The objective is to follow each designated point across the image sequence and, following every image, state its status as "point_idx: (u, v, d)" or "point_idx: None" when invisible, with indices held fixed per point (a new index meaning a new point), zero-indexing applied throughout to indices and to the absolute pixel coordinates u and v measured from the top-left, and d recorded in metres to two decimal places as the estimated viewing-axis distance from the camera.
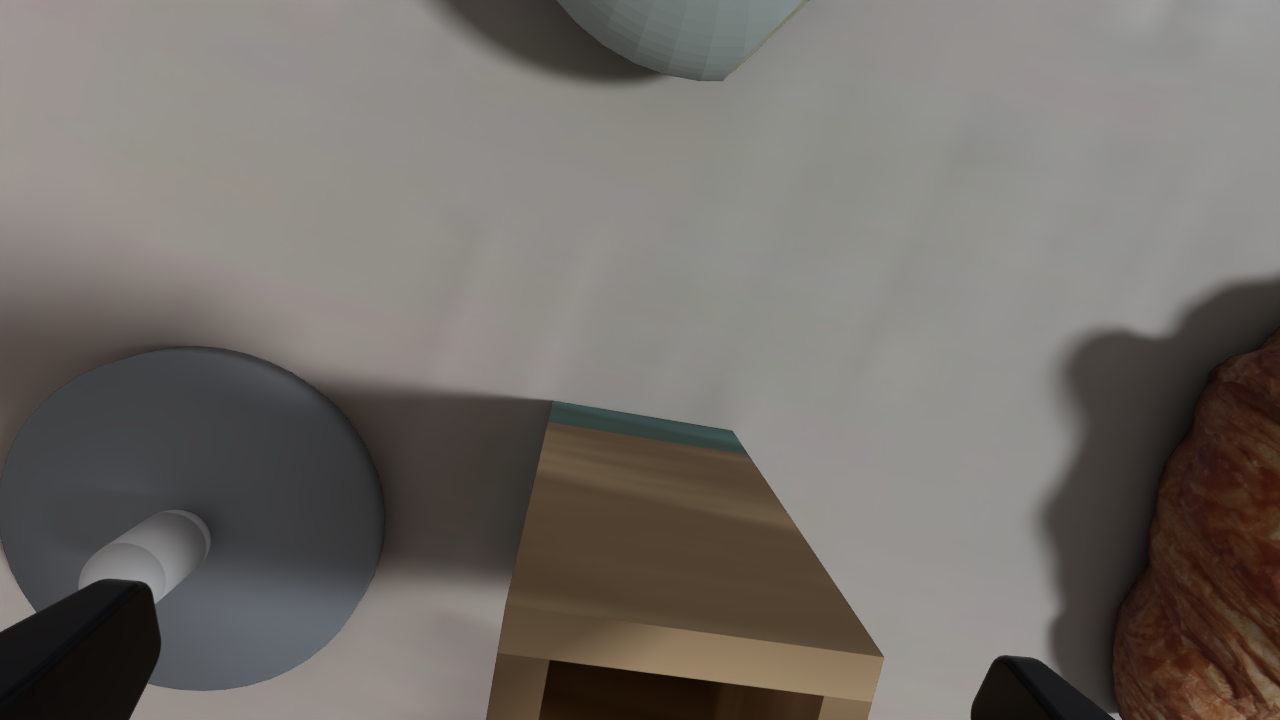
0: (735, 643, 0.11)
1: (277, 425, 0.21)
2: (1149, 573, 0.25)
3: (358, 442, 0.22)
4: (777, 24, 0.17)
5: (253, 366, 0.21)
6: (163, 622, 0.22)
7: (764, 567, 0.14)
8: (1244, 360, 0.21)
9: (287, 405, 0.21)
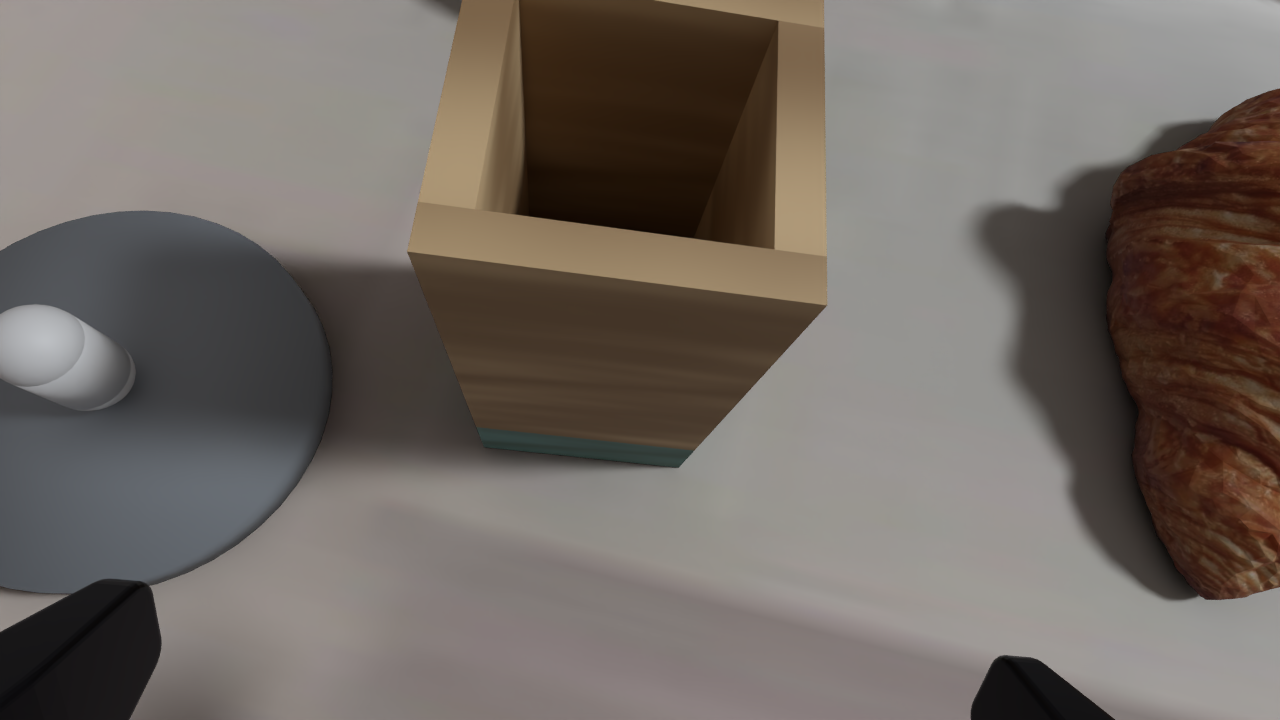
0: None
1: (233, 273, 0.21)
2: (1141, 411, 0.24)
3: (313, 309, 0.22)
4: None
5: None
6: (46, 498, 0.18)
7: None
8: (1117, 179, 0.25)
9: (247, 254, 0.21)
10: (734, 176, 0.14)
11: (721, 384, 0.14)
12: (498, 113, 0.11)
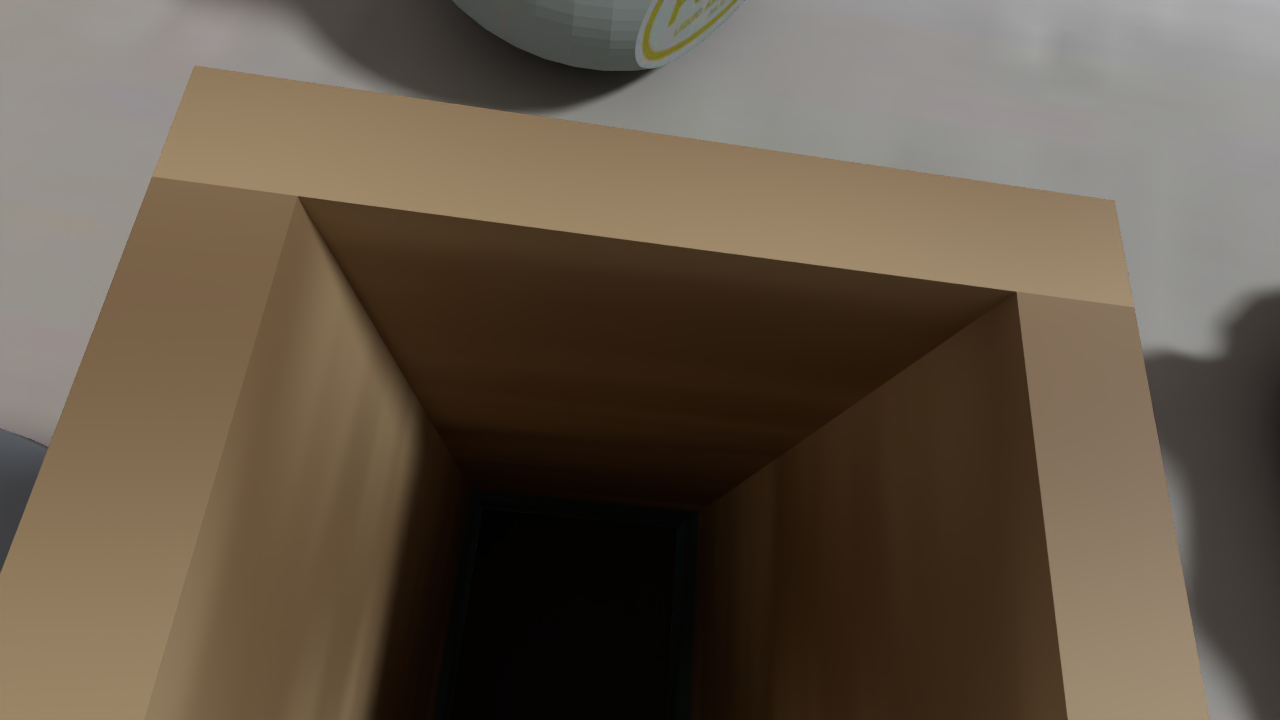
0: (768, 165, 0.05)
1: (5, 509, 0.13)
2: None
3: None
4: None
5: None
6: None
7: None
8: None
9: (31, 476, 0.14)
10: (842, 531, 0.07)
11: None
12: (211, 634, 0.04)
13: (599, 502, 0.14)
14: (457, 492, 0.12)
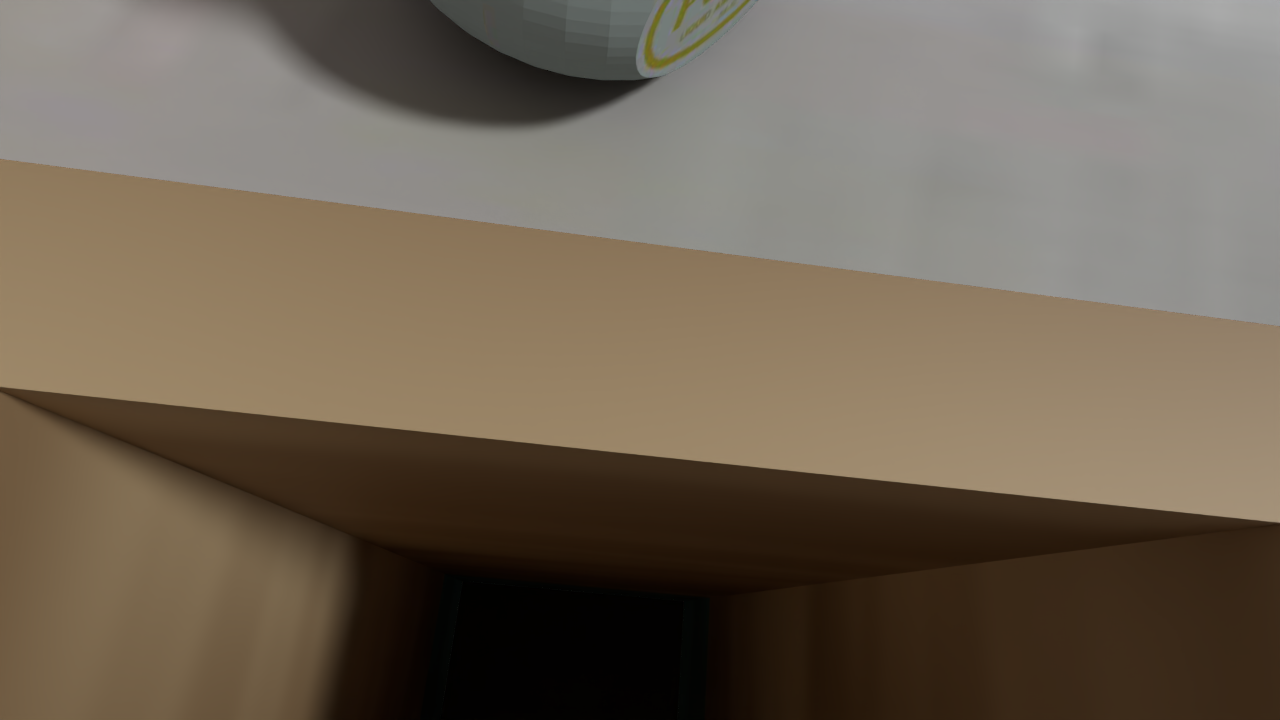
0: (849, 296, 0.03)
1: None
2: None
3: None
4: None
5: None
6: None
7: None
8: None
9: None
10: None
11: None
12: None
13: (593, 587, 0.12)
14: (422, 592, 0.10)
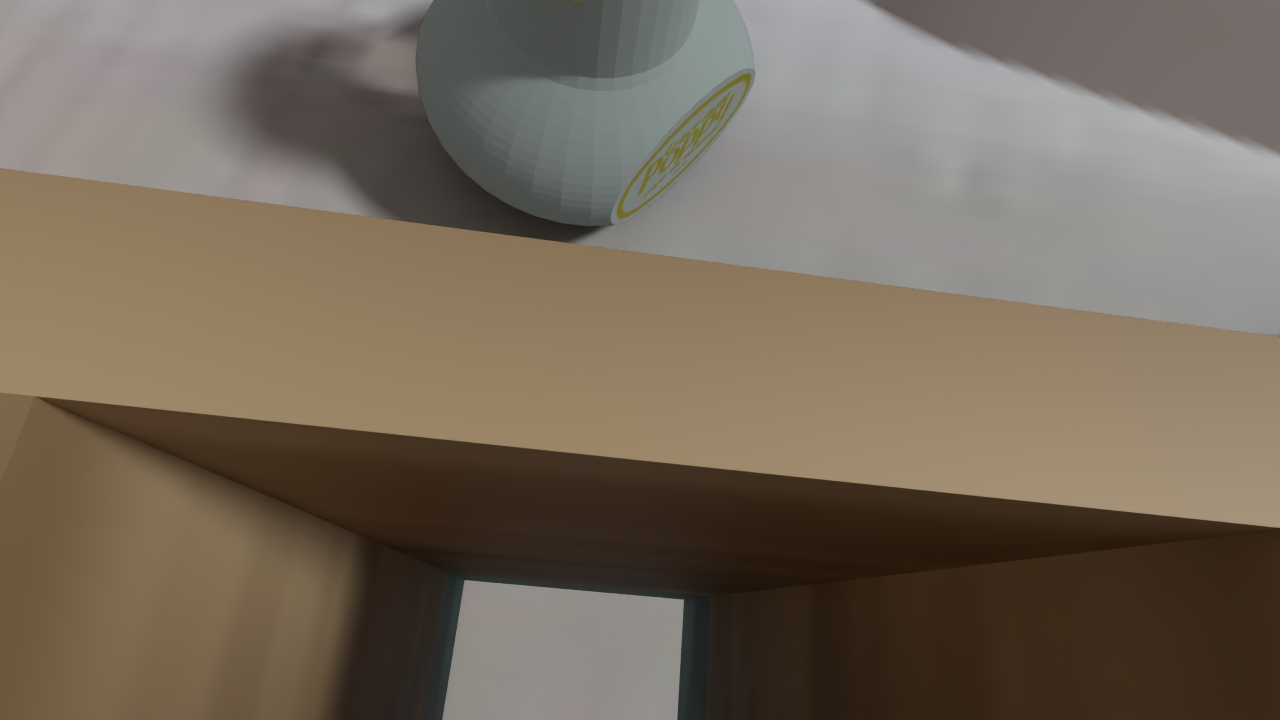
0: (866, 308, 0.03)
1: None
2: None
3: None
4: (645, 155, 0.20)
5: None
6: None
7: None
8: None
9: None
10: None
11: None
12: None
13: (595, 586, 0.12)
14: (427, 590, 0.10)
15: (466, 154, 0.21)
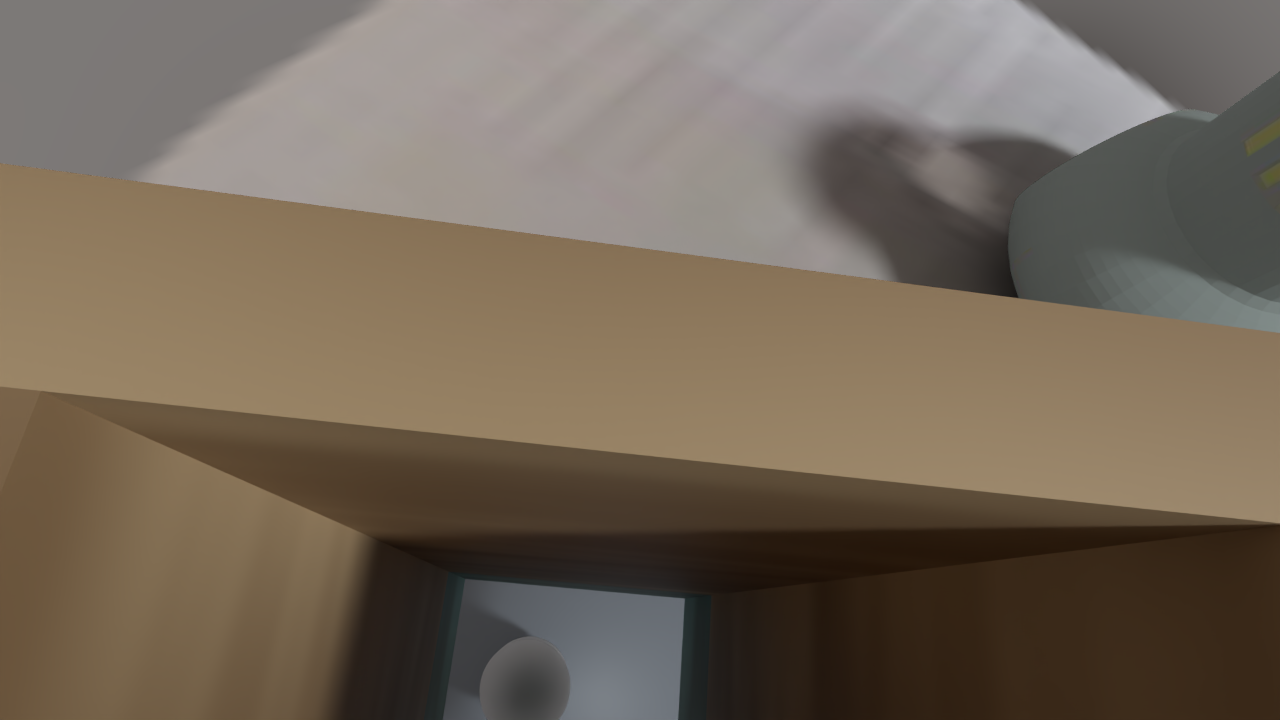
0: (868, 303, 0.03)
1: None
2: None
3: None
4: None
5: None
6: None
7: None
8: None
9: None
10: None
11: None
12: None
13: (596, 585, 0.12)
14: (428, 589, 0.10)
15: None
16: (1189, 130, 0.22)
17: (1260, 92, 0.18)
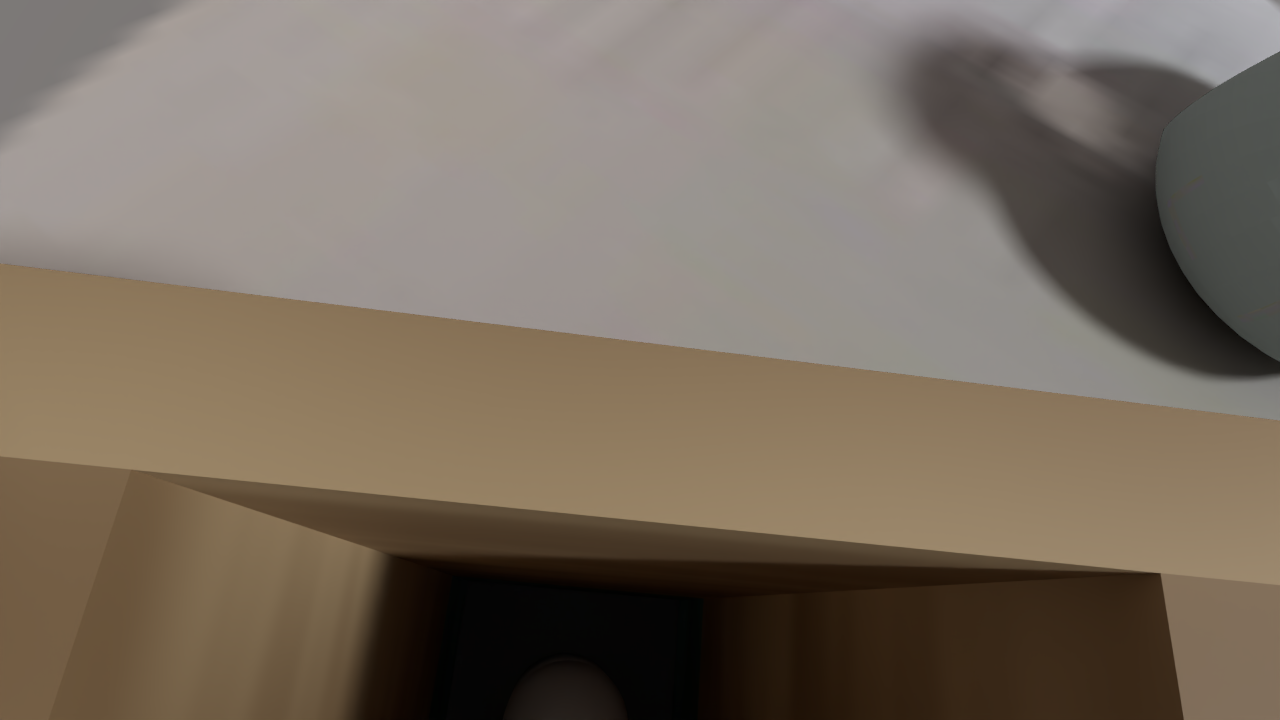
0: (812, 385, 0.03)
1: None
2: None
3: None
4: None
5: None
6: None
7: None
8: None
9: None
10: None
11: None
12: None
13: (593, 588, 0.12)
14: (433, 594, 0.10)
15: (1251, 246, 0.17)
16: None
17: None
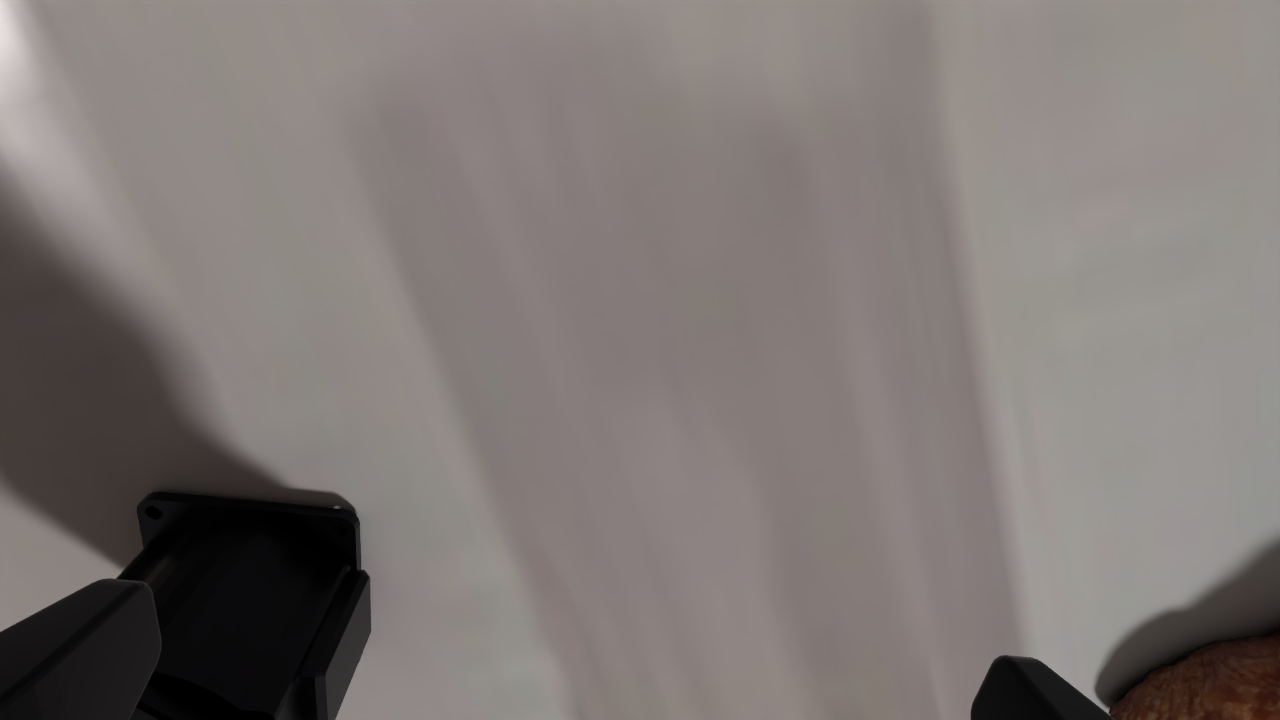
0: None
1: None
2: (1274, 642, 0.25)
3: None
4: None
5: None
6: None
7: None
8: None
9: None
10: None
11: None
12: None
13: None
14: None
15: None
16: None
17: None
